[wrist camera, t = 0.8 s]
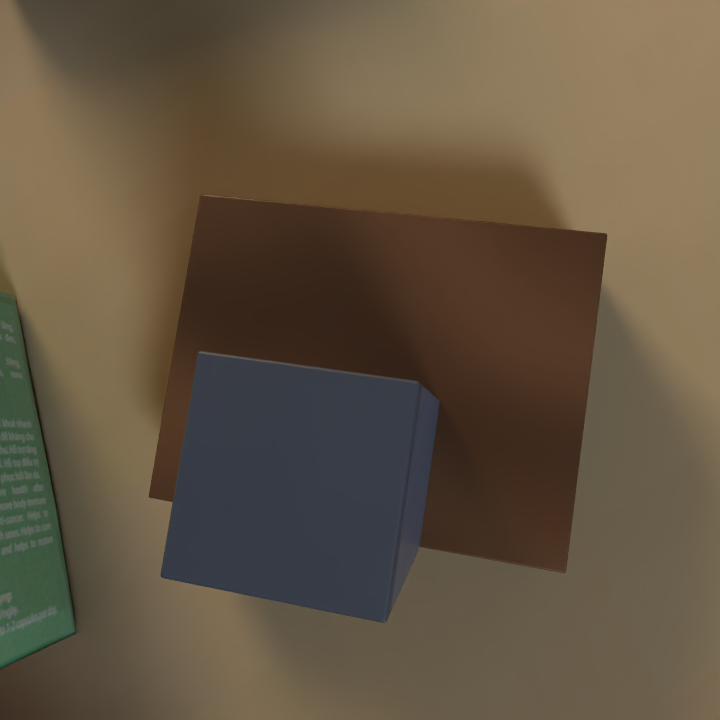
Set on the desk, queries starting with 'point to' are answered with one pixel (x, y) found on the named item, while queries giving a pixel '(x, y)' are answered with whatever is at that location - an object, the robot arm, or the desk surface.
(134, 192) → the desk surface
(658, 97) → the desk surface
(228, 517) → the small box
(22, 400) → the box
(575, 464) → the brown flat block
